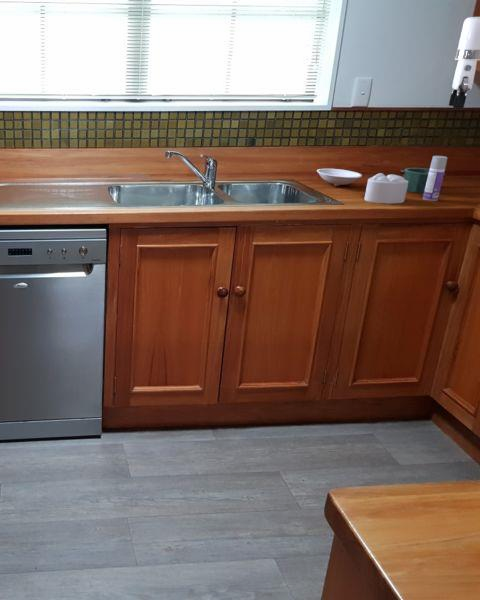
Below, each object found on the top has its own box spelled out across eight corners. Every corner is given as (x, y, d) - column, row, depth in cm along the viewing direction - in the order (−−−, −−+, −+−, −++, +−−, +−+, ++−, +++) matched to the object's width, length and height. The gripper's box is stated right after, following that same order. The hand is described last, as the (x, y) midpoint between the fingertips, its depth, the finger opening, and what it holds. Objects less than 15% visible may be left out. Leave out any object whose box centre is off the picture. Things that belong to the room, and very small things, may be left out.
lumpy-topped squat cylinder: (408, 202, 211) (414, 177, 208) (376, 204, 208) (382, 179, 205) (387, 195, 221) (392, 171, 217) (356, 197, 217) (361, 173, 214)
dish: (368, 188, 231) (371, 175, 229) (341, 191, 225) (344, 178, 223) (332, 179, 246) (334, 167, 244) (305, 182, 240) (308, 170, 238)
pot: (438, 188, 233) (442, 169, 230) (443, 195, 223) (448, 175, 220) (395, 185, 238) (399, 166, 235) (398, 191, 228) (402, 172, 225)
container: (436, 198, 217) (446, 156, 212) (438, 201, 213) (449, 158, 207) (421, 197, 219) (431, 155, 213) (423, 200, 215) (433, 157, 209)
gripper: (485, 56, 203) (472, 109, 210) (475, 55, 218) (463, 105, 225) (460, 55, 205) (447, 108, 212) (451, 55, 220) (440, 104, 227)
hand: (455, 107), depth 218 cm, fingers open, 9 cm apart
